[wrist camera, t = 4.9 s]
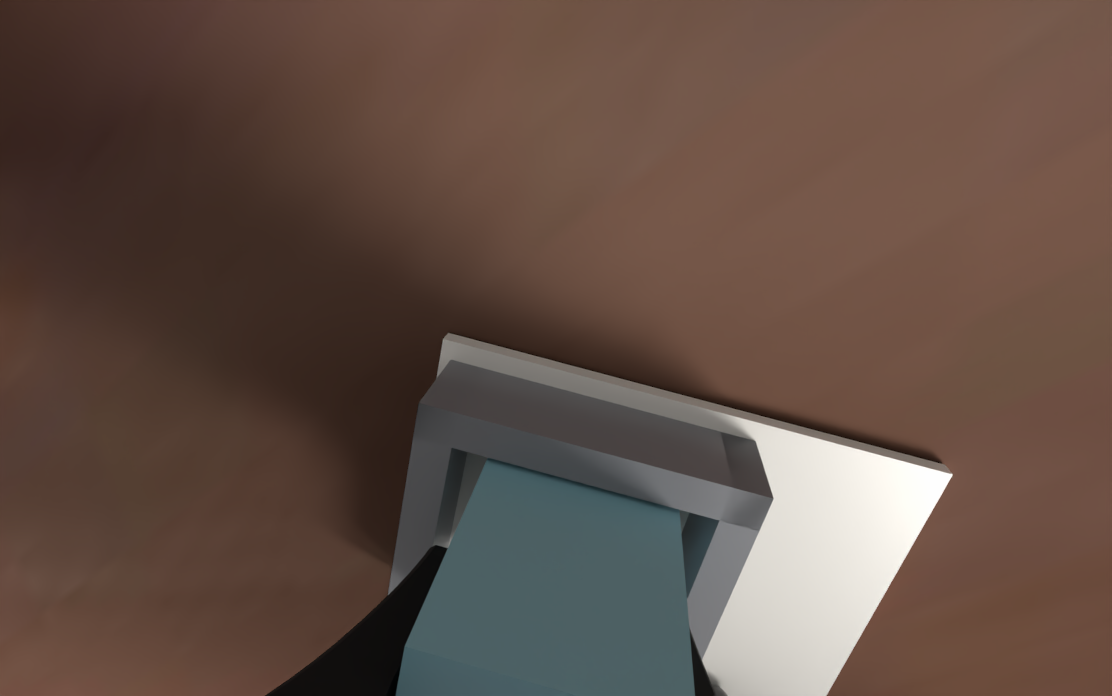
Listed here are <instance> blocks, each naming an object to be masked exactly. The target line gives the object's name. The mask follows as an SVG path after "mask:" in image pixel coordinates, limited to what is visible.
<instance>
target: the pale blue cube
mask: <svg viewBox="0 0 1112 696" xmlns="http://www.w3.org/2000/svg"><path fill="white" fill-rule="evenodd" d="M396 696H695V689H694V677H693V665H692V654H691V642H690V630H689V618H688V606H687V594H686V582H685V570H684V558H683V546H682V534H681V523H680V511H679V509H675V508H671V507H668V506H664V505H660V504H657V503H653V502H649V501H646V500H642V499H638V498H635V497H631V496H627V495H624V494H620V493H616V492H613V491H609V490H605V489H602V488H598V487H594V486H591V485H587V484H583V483H580V482H576V481H572V480H569V479H565V478H561V477H558V476H554V475H550V474H547V473H543V472H539V471H535V470H532V469H528V468H524V467H521V466H517V465H513V464H510V463H506V462H502V461H499V460H495V459H491V458H487V461H486V463H485V465H484V467H483V470H482V472H481V474H480V476H479V479H478V481H477V483H476V486H475V488H474V490H473V492H472V495H471V497H470V499H469V501H468V504H467V506H466V508H465V511H464V513H463V515H462V517H461V520H460V522H459V524H458V526H457V529H456V531H455V533H454V536H453V538H452V540H451V542H450V545H449V547H448V549H447V551H446V554H445V556H444V558H443V561H442V563H441V565H440V567H439V570H438V572H437V574H436V576H435V579H434V581H433V583H432V585H431V588H430V590H429V592H428V595H427V597H426V599H425V601H424V604H423V606H422V608H421V610H420V613H419V615H418V617H417V620H416V622H415V624H414V626H413V629H412V631H411V633H410V635H409V638H408V640H407V642H406V645H405V647H404V653H403V658H402V664H401V669H400V674H399V680H398V685H397V691H396Z"/></svg>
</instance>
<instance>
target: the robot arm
mask: <svg viewBox="0 0 1112 696" xmlns="http://www.w3.org/2000/svg"><path fill="white" fill-rule="evenodd" d="M447 549H448V548H445V547H442V546H438V545H435V546H433V547H431V548H429V550H428V551H427V552H426V554H425V555H424V556H423V557H422V559H421V560H420V561H419V562H418V563H417V565H416V566H415V567H414V568H413V569H412V570H411V572H410V573H409V574H408V575H407V576H406V577H405V578H404V579H403V580H402V581H401V582H400V583H399V585H398V586H397V587H396V588H395V589H394V590H393V591H392V592H391V593H390V594H389V595H388V596H387V597H386V598H385V599H384V600H383V601H382V602H381V603H380V604H379V605H378V606H377V607H375V608H374V609H373V610H372V611H371V612H370V613H369V614H368V615H367V616H366V617H365V618H364V619H363V620H362V621H361V622H359V623H358V624H357V625H356V626H355V627H354V628H353V629H351V630H350V631H349V632H348V633H347V634H346V635H345V636H343V637H342V638H341V639H340V640H339V641H338V642H337V643H335V644H334V645H333V646H332V647H330V648H329V649H328V650H327V651H326V652H324V653H323V654H322V655H321V656H319V657H318V658H317V659H315V660H314V661H313V662H312V663H310V664H309V665H308V666H306V667H305V668H304V669H302V670H301V671H300V672H298V673H297V674H296V675H294V676H293V677H292V678H290V679H289V680H287V681H286V682H284V683H283V684H281V685H280V686H279V687H277V688H276V689H274V690H273V691H271V692H270V693H268V694H267V695H265V696H396V691H397V685H398V680H399V674H400V669H401V664H402V658H403V653H404V647H405V645H406V642H407V640H408V638H409V635H410V633H411V631H412V629H413V626H414V624H415V622H416V620H417V617H418V615H419V613H420V610H421V608H422V606H423V604H424V601H425V599H426V597H427V595H428V592H429V590H430V588H431V585H432V583H433V581H434V579H435V576H436V574H437V572H438V570H439V567H440V565H441V563H442V561H443V558H444V556H445V554H446V551H447ZM689 630H690V627H689ZM690 642H691V654H692V665H693V677H694V689H695V696H717V695H716V693H715V691H714V688H713V686H712V684H711V681H710V679H709V677H708V674H707V672H706V669H705V667H704V664H703V662H702V659H701V657H700V654H699V652H698V649H697V646H696V644H695V641H694V638H693V636H692V633H691V630H690Z"/></svg>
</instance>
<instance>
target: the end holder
mask: <svg viewBox="0 0 1112 696" xmlns="http://www.w3.org/2000/svg"><path fill="white" fill-rule="evenodd" d="M467 452H469V453H473V454H477V455H480V456H484V457H488V458H491V459H495V460H499V461H502V462H506V463H510V464H513V465H517V466H521V467H524V468H528V469H532V470H535V471H539V472H543V473H547V474H550V475H554V476H558V477H561V478H565V479H569V480H572V481H576V482H580V483H583V484H587V485H591V486H594V487H598V488H602V489H605V490H609V491H613V492H616V493H620V494H624V495H627V496H631V497H635V498H638V499H642V500H646V501H649V502H653V503H657V504H660V505H664V506H668V507H671V508H675V509H679V510H682V511H686V512H690V513H689V515H688V518H687V521H686V523H685V526H684V528H683V531H682V546H683V558H684V570H685V582H686V594H687V606H688V618H689V627H690V630H691V633H692V636H693V638H694V641H695V644H696V646H697V649H698V652H699V654H700V657H701V659H703V657H704V654H705V652H706V650H707V648H708V645H709V643H710V641H711V639H712V636H713V634H714V632H715V630H716V627H717V625H718V623H719V621H720V618H721V616H722V614H723V612H724V609H725V607H726V605H727V603H728V601H729V598H730V596H731V594H732V592H733V589H734V587H735V585H736V583H737V580H738V578H739V576H740V574H741V571H742V569H743V567H744V565H745V562H746V560H747V558H748V556H749V553H750V551H751V549H752V547H753V544H754V542H755V540H756V538H757V535H758V533H759V531H760V529H761V526H762V524H763V522H764V520H765V517H766V515H767V513H768V511H769V508H770V506H771V504H772V502H773V499H774V498H773V495H772V492H771V488H770V485H769V482H768V479H767V476H766V473H765V469H764V466H763V463H762V460H761V457H760V453H759V450H758V447H757V444H756V441H754V440H750V439H746V438H743V437H739V436H735V435H731V434H728V433H724V432H720V431H716V430H713V429H709V428H705V427H701V426H698V425H694V424H690V423H686V422H683V421H679V420H675V419H671V418H668V417H664V416H660V415H656V414H653V413H649V412H645V411H642V410H638V409H634V408H630V407H627V406H623V405H619V404H615V403H612V402H608V401H604V400H600V399H597V398H593V397H589V396H585V395H582V394H578V393H574V392H570V391H567V390H563V389H559V388H555V387H552V386H548V385H544V384H540V383H537V382H533V381H529V380H525V379H522V378H518V377H514V376H511V375H507V374H503V373H499V372H496V371H492V370H488V369H484V368H481V367H477V366H473V365H469V364H466V363H462V362H458V361H454V360H450V361H449V362H448V364H447V365H446V366H445V368H444V369H443V371H442V372H441V373H440V375H439V376H438V377H437V379H436V380H435V381H434V383H433V384H432V386H431V387H430V388H429V390H428V391H427V392H426V394H425V395H424V396H423V398H422V399H421V400H420V402H419V404H418V410H417V417H416V423H415V429H414V435H413V441H412V448H411V454H410V460H409V466H408V473H407V479H406V485H405V491H404V497H403V504H402V510H401V516H400V522H399V529H398V535H397V541H396V547H395V554H394V560H393V566H392V572H391V578H390V585H389V591H388V595H389V594H390V593H391V592H392V591H393V590H394V589H395V588H396V587H397V586H398V585H399V583H400V582H401V581H402V580H403V579H404V578H405V577H406V576H407V575H408V574H409V573H410V572H411V570H412V569H413V568H414V567H415V566H416V565H417V563H418V562H419V561H420V560H421V559H422V557H423V556H424V555H425V554H426V552H427V551H428V550H429V548H431V547H433V546H435V545H438V546H442V547H445V548H448V546H449V541H450V536H451V531H452V526H453V521H454V516H455V511H456V507H457V502H458V497H459V492H460V487H461V482H462V477H463V472H464V467H465V462H466V457H467Z"/></svg>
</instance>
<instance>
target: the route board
mask: <svg viewBox="0 0 1112 696" xmlns="http://www.w3.org/2000/svg"><path fill="white" fill-rule="evenodd" d="M450 360H454V361H458V362H462V363H466V364H469V365H473V366H477V367H481V368H484V369H488V370H492V371H496V372H499V373H503V374H507V375H511V376H514V377H518V378H522V379H525V380H529V381H533V382H537V383H540V384H544V385H548V386H552V387H555V388H559V389H563V390H567V391H570V392H574V393H578V394H582V395H585V396H589V397H593V398H597V399H600V400H604V401H608V402H612V403H615V404H619V405H623V406H627V407H630V408H634V409H638V410H642V411H645V412H649V413H653V414H656V415H660V416H664V417H668V418H671V419H675V420H679V421H683V422H686V423H690V424H694V425H698V426H701V427H705V428H709V429H713V430H716V431H720V432H724V433H728V434H731V435H735V436H739V437H743V438H746V439H750V440H754V441H756V444H757V447H758V450H759V453H760V457H761V460H762V463H763V466H764V469H765V473H766V476H767V479H768V482H769V485H770V488H771V492H772V495H773V498H774V499H773V502H772V504H771V506H770V508H769V511H768V513H767V515H766V517H765V520H764V522H763V524H762V526H761V529H760V531H759V533H758V535H757V538H756V540H755V542H754V544H753V547H752V549H751V551H750V553H749V556H748V558H747V560H746V562H745V565H744V567H743V569H742V571H741V574H740V576H739V578H738V580H737V583H736V585H735V587H734V589H733V592H732V594H731V596H730V598H729V601H728V603H727V605H726V607H725V609H724V612H723V614H722V616H721V618H720V621H719V623H718V625H717V627H716V630H715V632H714V634H713V636H712V639H711V641H710V643H709V645H708V648H707V650H706V652H705V654H704V657H703V659H702V662H703V664H704V667H705V669H706V672H707V674H708V677H709V679H710V681H711V684H712V686H713V688H714V691H715V693H716V695H717V696H826V695H827V694H828V692H829V690H830V688H831V687H832V685H833V683H834V681H835V680H836V678H837V676H838V674H839V673H840V671H841V669H842V667H843V666H844V664H845V662H846V660H847V659H848V657H849V655H850V653H851V652H852V650H853V648H854V646H855V645H856V643H857V641H858V639H859V638H860V636H861V634H862V632H863V631H864V629H865V627H866V625H867V624H868V622H869V620H870V618H871V617H872V615H873V613H874V611H875V610H876V608H877V606H878V604H879V603H880V601H881V599H882V597H883V596H884V594H885V592H886V590H887V589H888V587H889V585H890V583H891V582H892V580H893V578H894V576H895V575H896V573H897V571H898V569H899V568H900V566H901V564H902V562H903V561H904V559H905V557H906V555H907V554H908V552H909V550H910V548H911V547H912V545H913V543H914V541H915V540H916V538H917V536H918V534H919V533H920V531H921V529H922V527H923V526H924V524H925V522H926V521H927V519H928V517H929V515H930V514H931V512H932V510H933V508H934V507H935V505H936V503H937V501H938V500H939V498H940V496H941V494H942V493H943V491H944V489H945V487H946V486H947V484H948V482H949V480H950V479H951V477H952V475H953V474H952V473H951V472H950V470H949V469H948V468H947V467H946V465H944V464H940V463H937V462H933V461H929V460H925V459H922V458H918V457H914V456H910V455H907V454H903V453H899V452H895V451H891V450H888V449H884V448H880V447H876V446H873V445H869V444H865V443H861V442H858V441H854V440H850V439H846V438H843V437H839V436H835V435H831V434H827V433H824V432H820V431H816V430H812V429H809V428H805V427H801V426H797V425H794V424H790V423H786V422H782V421H779V420H775V419H771V418H767V417H763V416H760V415H756V414H752V413H748V412H745V411H741V410H737V409H733V408H730V407H726V406H722V405H718V404H715V403H711V402H707V401H703V400H700V399H696V398H692V397H688V396H684V395H681V394H677V393H673V392H669V391H666V390H662V389H658V388H654V387H651V386H647V385H643V384H639V383H636V382H632V381H628V380H624V379H620V378H617V377H613V376H609V375H605V374H602V373H598V372H594V371H590V370H587V369H583V368H579V367H575V366H572V365H568V364H564V363H560V362H556V361H553V360H549V359H545V358H541V357H538V356H534V355H530V354H526V353H523V352H519V351H515V350H511V349H508V348H504V347H500V346H496V345H493V344H489V343H485V342H481V341H477V340H474V339H470V338H466V337H462V336H459V335H455V334H451V333H448V334H447V335H446V336H445V337H444V338H443V343H442V348H441V354H440V360H439V366H438V372H437V377H438V376H439V375H440V373H441V372H442V371H443V369H444V368H445V366H446V365H447V364H448V362H449V361H450ZM436 379H437V378H436ZM487 458H488V457H484V456H480V455H477V454H473V453H469V452H467V457H466V462H465V467H464V472H463V477H462V482H461V487H460V492H459V497H458V502H457V507H456V511H455V516H454V521H453V526H452V531H451V536H450V541H449V545H450V542H451V540H452V538H453V536H454V533H455V531H456V529H457V526H458V524H459V522H460V520H461V517H462V515H463V513H464V511H465V508H466V506H467V504H468V501H469V499H470V497H471V495H472V492H473V490H474V488H475V486H476V483H477V481H478V479H479V476H480V474H481V472H482V470H483V467H484V465H485V463H486V461H487ZM679 511H680V523H681V534H682V531H683V528H684V526H685V523H686V521H687V518H688V515H689V513H690V512H686V511H682V510H679ZM448 547H449V546H448Z"/></svg>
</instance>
